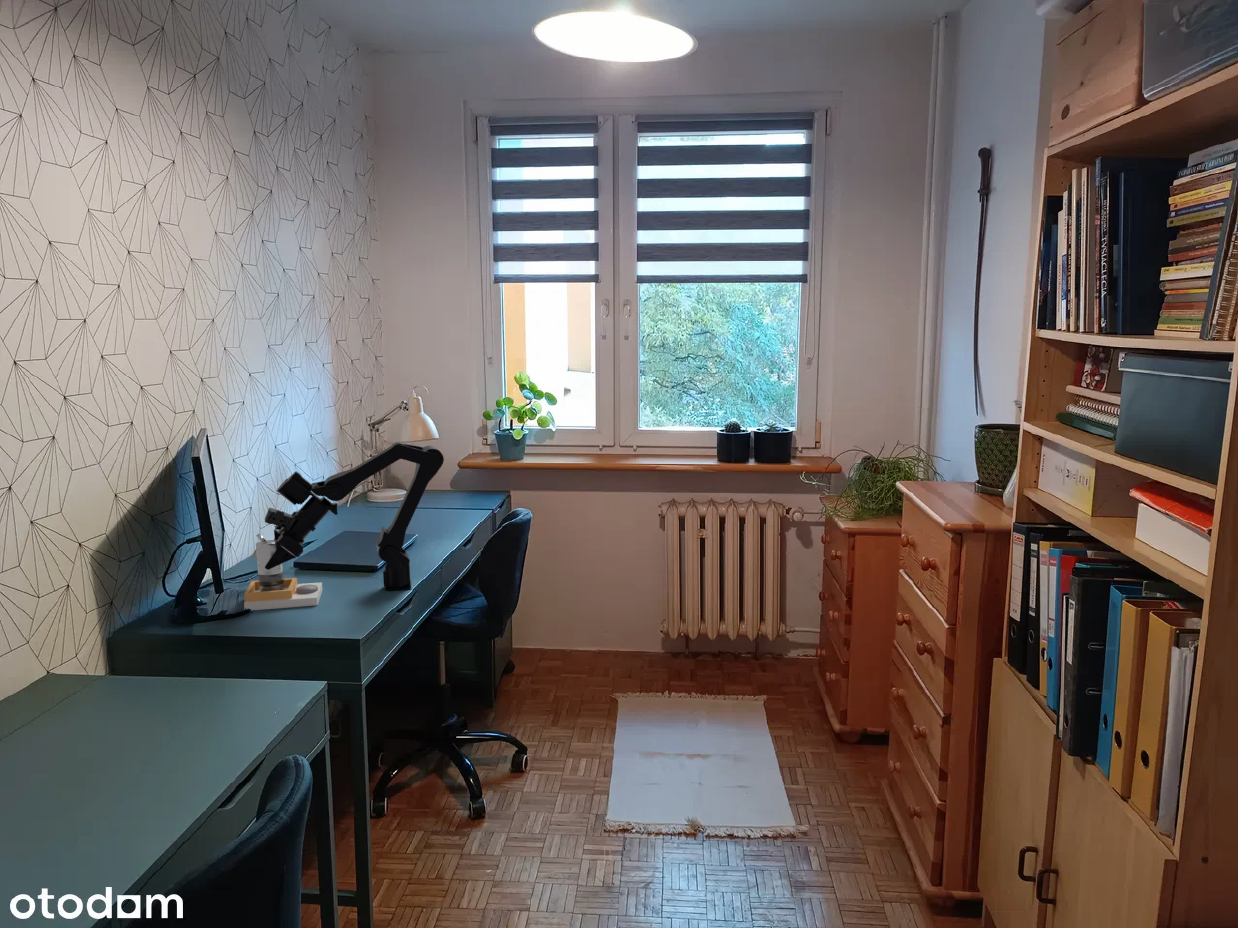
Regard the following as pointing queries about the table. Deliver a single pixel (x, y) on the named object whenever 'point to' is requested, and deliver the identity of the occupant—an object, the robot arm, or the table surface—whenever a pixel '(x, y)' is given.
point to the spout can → (273, 576)
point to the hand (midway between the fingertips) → (265, 563)
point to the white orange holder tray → (283, 595)
